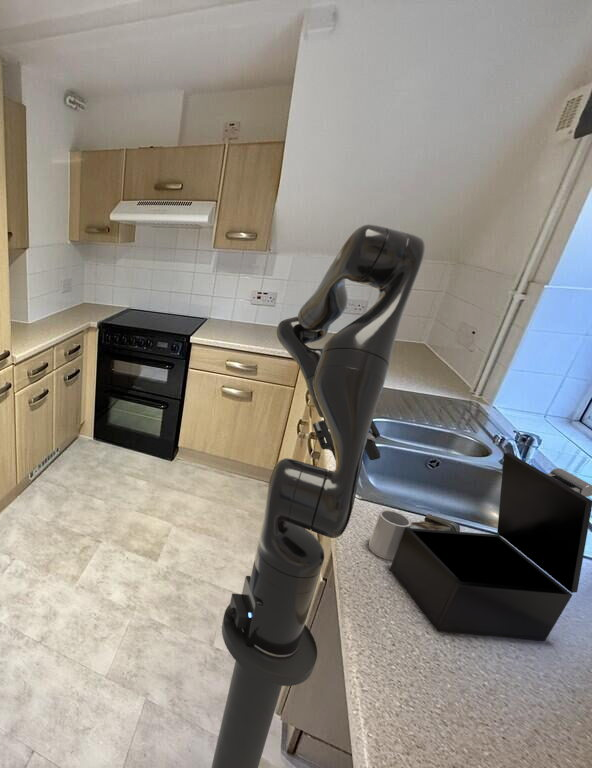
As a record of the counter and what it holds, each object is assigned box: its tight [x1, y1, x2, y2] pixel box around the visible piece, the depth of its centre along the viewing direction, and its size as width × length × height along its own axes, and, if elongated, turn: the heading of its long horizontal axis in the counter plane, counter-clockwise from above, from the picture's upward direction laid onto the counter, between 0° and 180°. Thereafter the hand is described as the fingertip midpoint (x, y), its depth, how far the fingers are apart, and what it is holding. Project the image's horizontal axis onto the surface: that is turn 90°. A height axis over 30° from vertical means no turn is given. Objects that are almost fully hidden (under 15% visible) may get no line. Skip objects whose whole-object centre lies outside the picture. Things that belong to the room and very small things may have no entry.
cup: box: [368, 509, 412, 561], centre depth 85 cm, size 5×5×8 cm
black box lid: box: [497, 452, 592, 594], centre depth 67 cm, size 17×14×5 cm
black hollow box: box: [389, 528, 573, 642], centre depth 73 cm, size 17×14×10 cm
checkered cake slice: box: [410, 513, 461, 532], centre depth 89 cm, size 10×7×12 cm
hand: (360, 462), depth 89 cm, fingers open, 8 cm apart
